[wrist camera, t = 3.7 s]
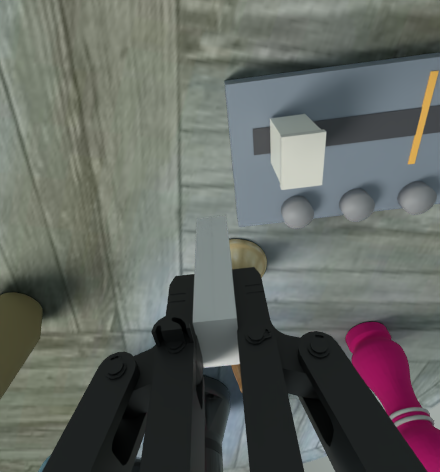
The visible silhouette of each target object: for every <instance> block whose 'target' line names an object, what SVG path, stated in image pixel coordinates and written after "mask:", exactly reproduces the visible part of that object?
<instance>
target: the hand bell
mask: <svg viewBox="0 0 440 472" xmlns="http://www.w3.org/2000/svg"><path fill="white" fill-rule="evenodd" d="M229 244H230V252H231V261H232V269H239V268H248V267H255V268H256V270H257V271H258V272H259V273H260V274H261V278H262V276H263V275H264V273H265V270H266V267H267V259H266V255H265V253H264V252H263V250H262V249H261V248H260V247H259V246H258V245H256V244H255V243H253V242H250V241H247V240H241V239H231V240H229ZM231 366H232V370H233V373H234V375H235V378H236V380H237V382H238V385H239V388H240V391H241V393H243V392H242V382H241V371H240V364H237V365H231Z"/></svg>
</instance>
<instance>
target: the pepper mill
mask: <svg viewBox="0 0 440 472" xmlns="http://www.w3.org/2000/svg"><path fill="white" fill-rule="evenodd" d="M345 340H346V343H347V345H348V347H349V350H350V351H351V352H352V353H353V355H352V364H353V366H354V367H355V369H356V370H357V372H358V373H359V374H360V376H361V377H362V379H363V380H364V382H365V383H366V384H367V386H368V387H369V388H370V389H371V390H372V391H373V392H374V393H375V394H376V396H377V397H378V398H379V400H380V401H381V403H382V405H383V407H384V408H385V411H386V413H387V414H388V416H389V417H390V419H391V420H392V422H393V423H394V424H395V426H396V427H397V429H398V430H399V432H400V433H401V434H402V436H403V437H404V439H405V440H406V442H407V443H408V444H409V446H410V447H411V449H412V450H413V451H414V453H415V454H416V456H417V457H418V459H419V460H420V461H421V463H422V464H423V466H424V467H425V469H426V470H427V471H428V472H440V430H439V429H437V428H435V427H434V420H433V419H432V418H431V417H430V413H429V411H428V410H426V409H424V408H422V407H421V405H420V403H419V402H418V400H417V398H416V396H415V394H414V391H413V388H412V385H411V380H410V371H409V364H408V360H407V357H406V355H405V353H404V351H403V349H402V348H401V346H400V345H399V344H397V343H396V342H394V341H392V340H391V336H390V334H389V332H388V330H387V329H386V327H385V326H384V325H383V324H381V323H378V322H365V323H361V324H359V325H356V326H355V327H353V328H352V329H351V330H350V331H349V332H348V333H347V335H346V338H345Z"/></svg>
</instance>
